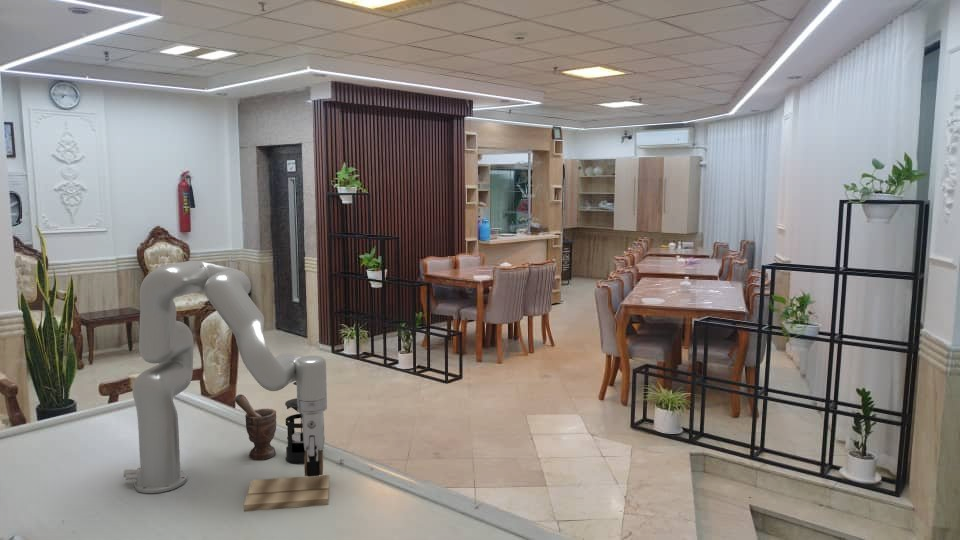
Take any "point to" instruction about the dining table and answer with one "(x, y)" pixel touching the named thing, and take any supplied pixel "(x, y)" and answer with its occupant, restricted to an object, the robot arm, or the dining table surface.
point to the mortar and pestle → (259, 428)
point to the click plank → (289, 484)
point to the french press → (294, 436)
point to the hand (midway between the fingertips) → (313, 470)
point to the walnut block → (320, 458)
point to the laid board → (286, 499)
